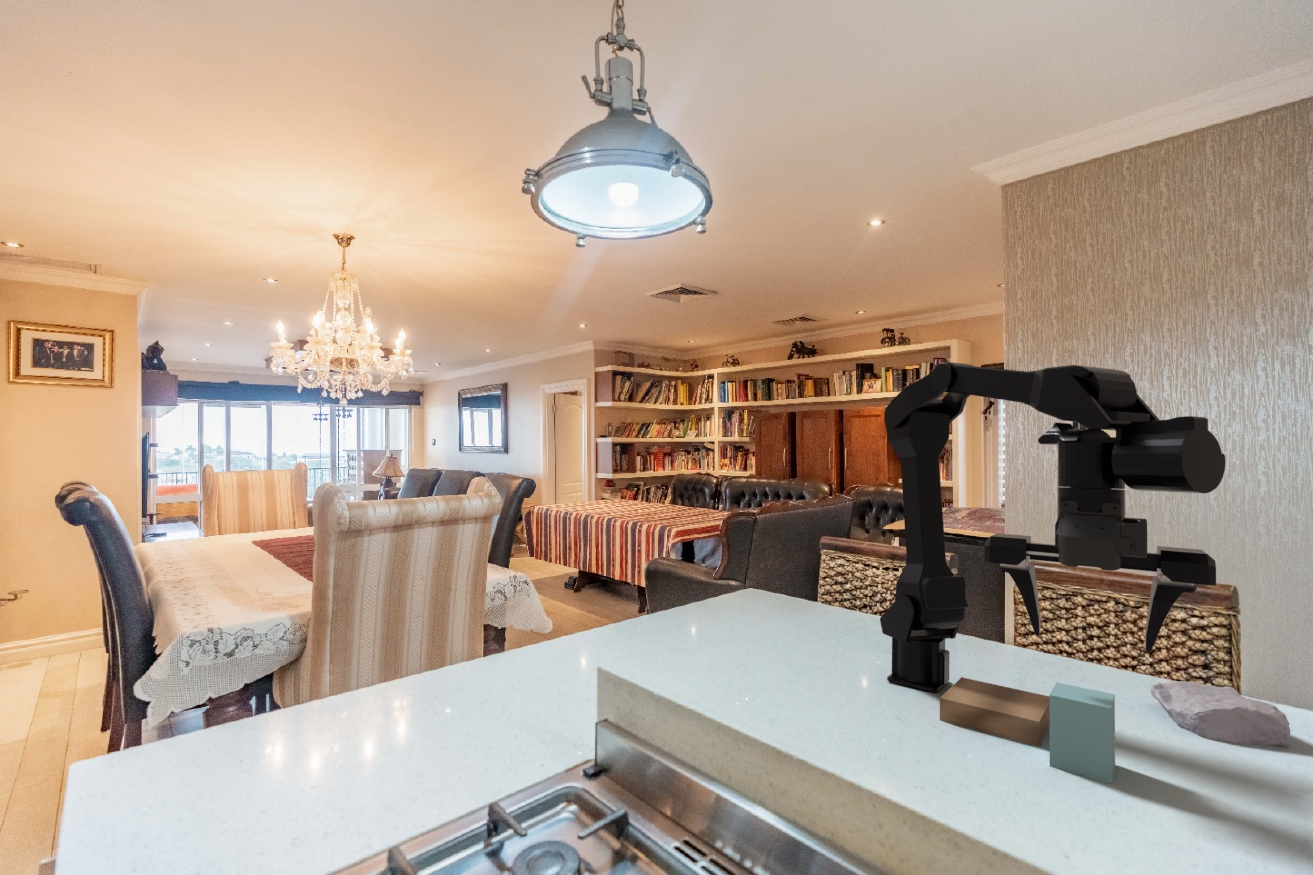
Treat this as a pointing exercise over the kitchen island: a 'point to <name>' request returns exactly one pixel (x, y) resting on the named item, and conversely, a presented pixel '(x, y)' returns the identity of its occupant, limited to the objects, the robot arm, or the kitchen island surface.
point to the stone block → (1222, 714)
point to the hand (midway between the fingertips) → (1090, 642)
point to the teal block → (1082, 731)
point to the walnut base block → (997, 710)
